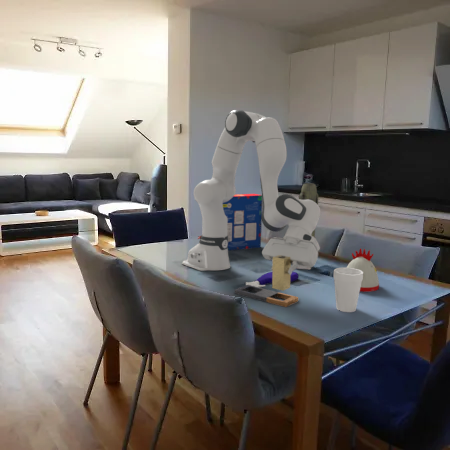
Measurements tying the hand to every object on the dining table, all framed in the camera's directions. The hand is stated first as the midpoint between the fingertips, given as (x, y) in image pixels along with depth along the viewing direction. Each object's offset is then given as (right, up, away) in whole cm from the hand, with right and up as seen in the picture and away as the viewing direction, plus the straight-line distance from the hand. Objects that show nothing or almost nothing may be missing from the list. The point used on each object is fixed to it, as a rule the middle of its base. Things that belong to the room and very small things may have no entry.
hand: (280, 271), depth 159 cm
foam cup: (+21, -12, -4) cm, 25 cm away
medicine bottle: (+16, -3, +48) cm, 51 cm away
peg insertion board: (-5, -10, +6) cm, 12 cm away
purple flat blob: (-1, -7, +25) cm, 26 cm away
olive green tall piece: (+23, +3, +80) cm, 84 cm away
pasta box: (-14, +4, +85) cm, 86 cm away
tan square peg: (0, -6, +1) cm, 6 cm away
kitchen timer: (+34, -8, +21) cm, 41 cm away
